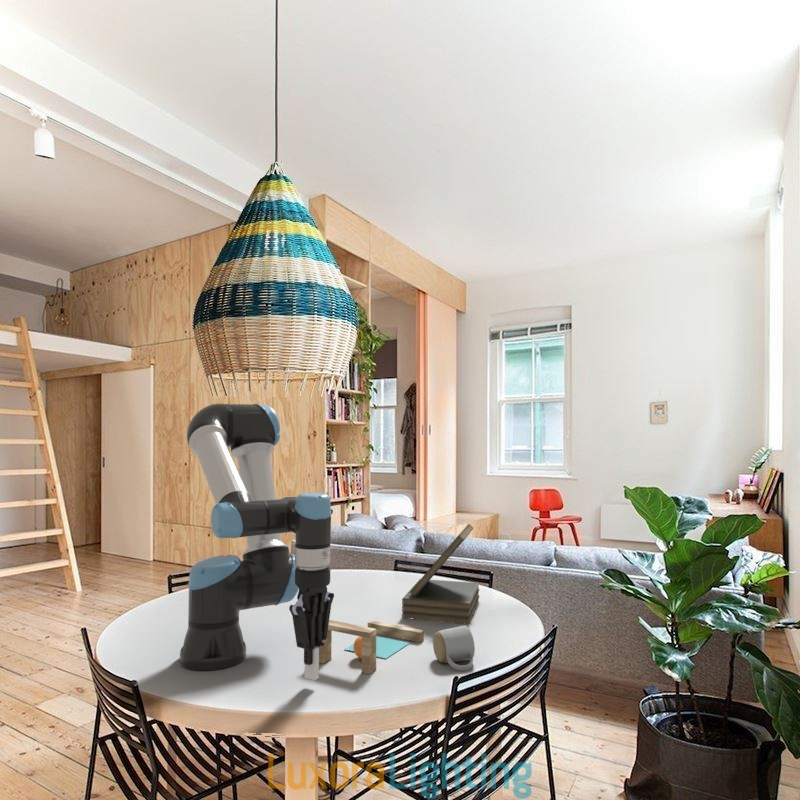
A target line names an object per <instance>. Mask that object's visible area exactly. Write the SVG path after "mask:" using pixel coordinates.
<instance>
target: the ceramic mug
mask: <svg viewBox="0 0 800 800" xmlns="http://www.w3.org/2000/svg"><path fill="white" fill-rule="evenodd" d="M432 646H433V652H434V655H435V658H436V659H437V660H438V662H440V663H443V664H448V665H449V666H450V667H451V668H452V669H453V670H456V671H459V672H465V671H469V670H471V668H472V666H473V661H474V657H475V651H476V650H475V648H476V647H475V640H474V636H473V634H472V632H471V630H470V628H469V627H468V626H467V625H461V626H459V625H458V626H455V627H451V628H446V629H442V630H439V631H437V632H436V633H434V635H433V638H432ZM465 661H470V662H469V663H468V664H464V665H460V664H457V663H456V662H465Z"/></svg>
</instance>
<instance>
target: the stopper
mask: <svg viewBox="0 0 800 800" xmlns="http://www.w3.org/2000/svg"><path fill="white" fill-rule="evenodd" d="M367 627H369V628H374V629H376V635H381V636H385V637H386V636H387V637H390V636H391V637H390V638H395V637H396V638H395V639H400V638H401V639H400V640H405V639H406V641H410V640H412V641H411V642H415V641H417V642H416V643H422V642H423V641H424V640H425V639H424V638H425V637H424V636H425V634H424V633H425V630H424V629H423V630H422V629H419V628H418V629H417V628H413V627H407V626H402V625H397V624H391V623H387V622H380V621H376V620H369V621H367ZM421 641H422V642H421Z"/></svg>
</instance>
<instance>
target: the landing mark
mask: <svg viewBox="0 0 800 800" xmlns="http://www.w3.org/2000/svg"><path fill="white" fill-rule="evenodd" d="M409 643H410V642H408V641H403V640H398V639H393V638H387V637H383V636H382V637H381V636H378V635H376V645H377V647H376V658H378V659H382V658H383V660H387V659H389V658H391V656H393V655H395V654H396V653H398V652H400V650H403V649H404V648H405V647H407V646H408V645H410V644H409ZM348 648H349V650H350V651H349V652H351V651H354V643H353V644H351V645H349V646H348ZM348 648H347V647H345V648H344V649H345V650H344V651H346V649H348Z"/></svg>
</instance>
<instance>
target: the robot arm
mask: <svg viewBox="0 0 800 800" xmlns="http://www.w3.org/2000/svg"><path fill="white" fill-rule="evenodd" d="M280 431H281V426H280V420H279V417H278V414H277V413H276V411H275V409H274V408H272V407H271V406H269V405H267V404H258V403H252V404H251V403H250V404H248V403H245V404H243V403H212V404H209V405H206V406H205V407H203V408H202V409H200V410H199V411H198V412H196V413H195V415H194V416H193V417H192V418H191V420H190V422H189V424H188V426H187V431H186V439H187V443H188V446H189V449H190V451H191V452H192V453H193V454H195V455H196V456H197V458H198V461H199V464H200V466H201V469H202V471H203V474H204V476H205V477H204V478H205V479H206V481H207V483H208V487H209V490H210V492H211V495H212V497H213V500H214V502H215V504H214V506H213V507H212V509H211V514H210V524H211V531H212V532H213V534H214V536H215V537H216V538H218V539H227V538H228V539H237V538H244V537H245V538H246V543H247V548H246V549H245V550H244V551H243V553H242V560H241V559H240V557H239V556H238V555H234V554H226V555H217V556H212V557H208V558H205V559H201V560H199V561H198V562H196V563H195V564H193V565H192V566H191V568H190V570H189V577H188V584H187V588H188V610H187V611H188V616H187V617H188V621H187V626H188V627H187V631H186V633H185V637H184V640H183V645H182V647H181V649H180V651H179V663H180V666H182V667H183V668H185V669H189V670H194V671H215V670H221V669H225V668H226V669H227V668H229V667H230V668H231V667H233V666H235V665H237V664H239V663H241V662H242V661H244V660H245V658H246V656H247V645H246V642H245V641H244V636H243V632H242V629H241V625H240V611H243V610H250V609H256V608H264V607H269V606H277V605H280V604H284V603H289V602H291V601H292V600H294V598H295V597H296V596H297V597H296V599H297V601H296V602H295V603H294V604H290V605H289V609H288V610H289V612H290V613H291V616H292V622H293V629H294V636H295V642H296V647H297V648H299V649H303V663H304V679H307V680H311V681H316V680H318V679H319V678H320V663H319V659H320V646H324V644H325V643H324V642H322V641H323V640H326V638H327V632H328V625H329V620H330V617H331V609H332V604H333V601H334V598H335V594H334V593H333V592H329V591H328V587H327V586H329V585H330V583H331V567H330V564H331V534H332V532H331V531H332V529H331V528H332V508H331V507H332V505H331V496H330V495H328V494H327V493H323V492H322V493H321V492H305V493H300V494H298V495H297V496H284V497H281V498H280V499H277V497H276V488H275V482H274V474H273V467H272V460H271V455H272V453H273V452H274V451H275V449H276V448H275V446H277V444H278V443H279V441H280V437H281V433H280ZM229 447H230V449H229ZM234 458H235V459H236V461H237V464H238V466H237V465H236V463H235V460H234ZM285 533H294V534H295V548H294V549H295V550H294V554H293V553H290V549H289V546H288V544H286V543H285V542H283V541H282V536H281V535H282V534H285Z"/></svg>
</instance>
